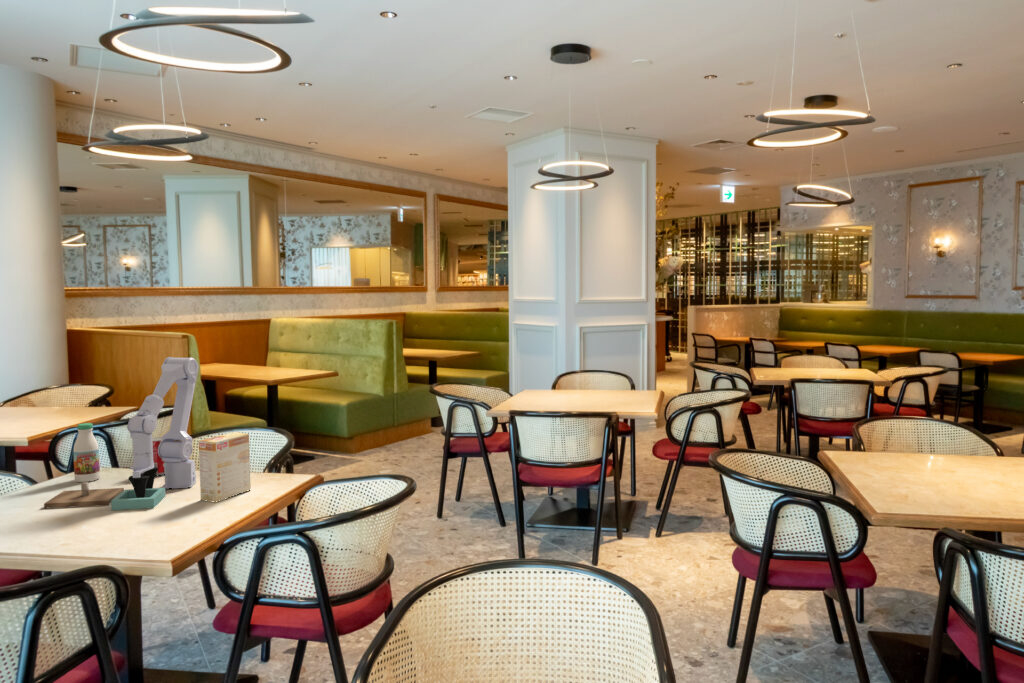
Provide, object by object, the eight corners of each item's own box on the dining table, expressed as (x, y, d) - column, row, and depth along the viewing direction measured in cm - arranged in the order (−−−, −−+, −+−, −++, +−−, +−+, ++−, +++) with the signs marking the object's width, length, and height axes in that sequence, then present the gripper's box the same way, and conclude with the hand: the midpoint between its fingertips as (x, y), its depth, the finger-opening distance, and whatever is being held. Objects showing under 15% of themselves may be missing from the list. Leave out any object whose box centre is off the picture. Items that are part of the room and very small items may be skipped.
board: (123, 492, 232) (123, 476, 232) (108, 505, 219) (107, 487, 218) (64, 495, 229) (63, 478, 228) (44, 508, 215) (43, 490, 215)
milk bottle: (71, 480, 247) (69, 424, 246) (96, 475, 253) (93, 421, 251) (78, 484, 242) (75, 427, 241) (103, 479, 248) (100, 423, 246)
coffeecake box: (235, 488, 237) (234, 431, 236) (251, 490, 234) (250, 433, 233) (199, 500, 224) (197, 440, 222) (215, 503, 221) (213, 442, 219)
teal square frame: (165, 496, 227) (165, 487, 227) (154, 508, 216) (153, 498, 215) (125, 498, 225) (124, 489, 225) (111, 510, 213) (111, 500, 213)
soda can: (165, 476, 252) (164, 440, 251) (146, 476, 252) (144, 440, 251) (175, 471, 259) (174, 436, 258) (156, 471, 259) (155, 436, 258)
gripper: (137, 448, 231) (138, 488, 232) (121, 458, 216) (123, 501, 217) (160, 447, 232) (161, 487, 233) (145, 457, 218) (147, 500, 219)
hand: (144, 494), depth 225 cm, fingers open, 7 cm apart
